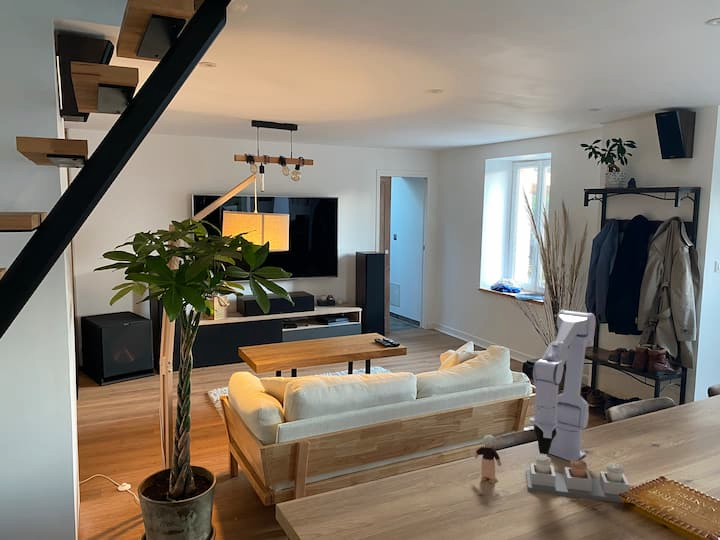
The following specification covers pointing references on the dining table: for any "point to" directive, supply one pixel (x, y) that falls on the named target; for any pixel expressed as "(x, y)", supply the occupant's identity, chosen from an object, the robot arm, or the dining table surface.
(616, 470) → the knob
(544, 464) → the knob
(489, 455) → the grandmother figurine
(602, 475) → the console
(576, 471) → the middle knob
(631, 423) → the dining table surface
